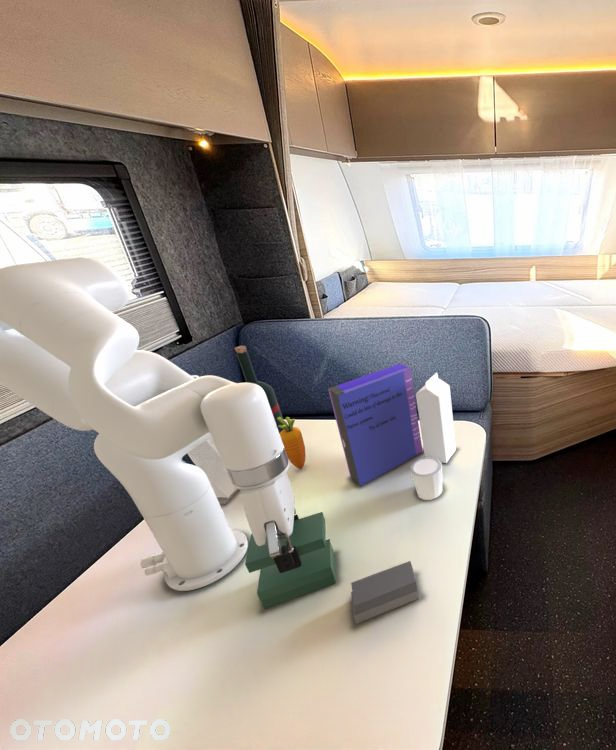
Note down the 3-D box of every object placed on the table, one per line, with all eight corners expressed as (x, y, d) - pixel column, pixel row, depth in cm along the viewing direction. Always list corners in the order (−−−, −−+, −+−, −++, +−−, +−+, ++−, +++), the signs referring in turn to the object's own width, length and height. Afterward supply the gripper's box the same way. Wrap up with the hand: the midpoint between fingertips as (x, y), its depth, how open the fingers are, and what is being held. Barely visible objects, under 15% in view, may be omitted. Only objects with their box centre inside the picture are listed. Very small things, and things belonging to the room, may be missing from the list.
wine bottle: (271, 441, 107) (236, 339, 94) (299, 447, 104) (267, 342, 91) (246, 457, 100) (204, 350, 88) (275, 465, 97) (236, 354, 84)
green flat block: (249, 573, 59) (244, 564, 58) (254, 542, 64) (250, 533, 63) (325, 547, 63) (323, 538, 62) (325, 519, 68) (322, 511, 67)
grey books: (355, 624, 60) (350, 607, 58) (353, 599, 64) (348, 583, 62) (419, 598, 63) (416, 582, 62) (413, 576, 67) (410, 560, 65)
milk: (425, 459, 97) (412, 381, 87) (435, 446, 102) (425, 370, 93) (447, 463, 95) (436, 384, 86) (457, 449, 100) (448, 372, 91)
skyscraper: (220, 479, 93) (175, 374, 81) (253, 479, 92) (212, 373, 80) (194, 504, 85) (139, 392, 73) (229, 504, 85) (180, 392, 73)
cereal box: (412, 445, 103) (398, 362, 93) (422, 452, 100) (410, 367, 89) (350, 477, 92) (327, 387, 81) (360, 486, 88) (337, 394, 78)
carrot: (316, 466, 96) (300, 414, 90) (297, 478, 92) (280, 424, 86) (304, 460, 98) (288, 409, 92) (285, 471, 95) (268, 419, 88)
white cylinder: (439, 503, 83) (435, 478, 80) (409, 500, 84) (404, 474, 81) (449, 482, 89) (446, 457, 86) (421, 479, 90) (417, 455, 87)
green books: (264, 609, 63) (256, 593, 61) (268, 576, 68) (261, 561, 66) (336, 582, 66) (330, 566, 65) (334, 554, 72) (329, 538, 70)
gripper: (239, 441, 63) (272, 523, 70) (216, 512, 48) (260, 606, 56) (290, 429, 65) (316, 509, 73) (283, 493, 51) (316, 585, 58)
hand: (292, 550), depth 64 cm, fingers closed on green flat block, 6 cm apart
